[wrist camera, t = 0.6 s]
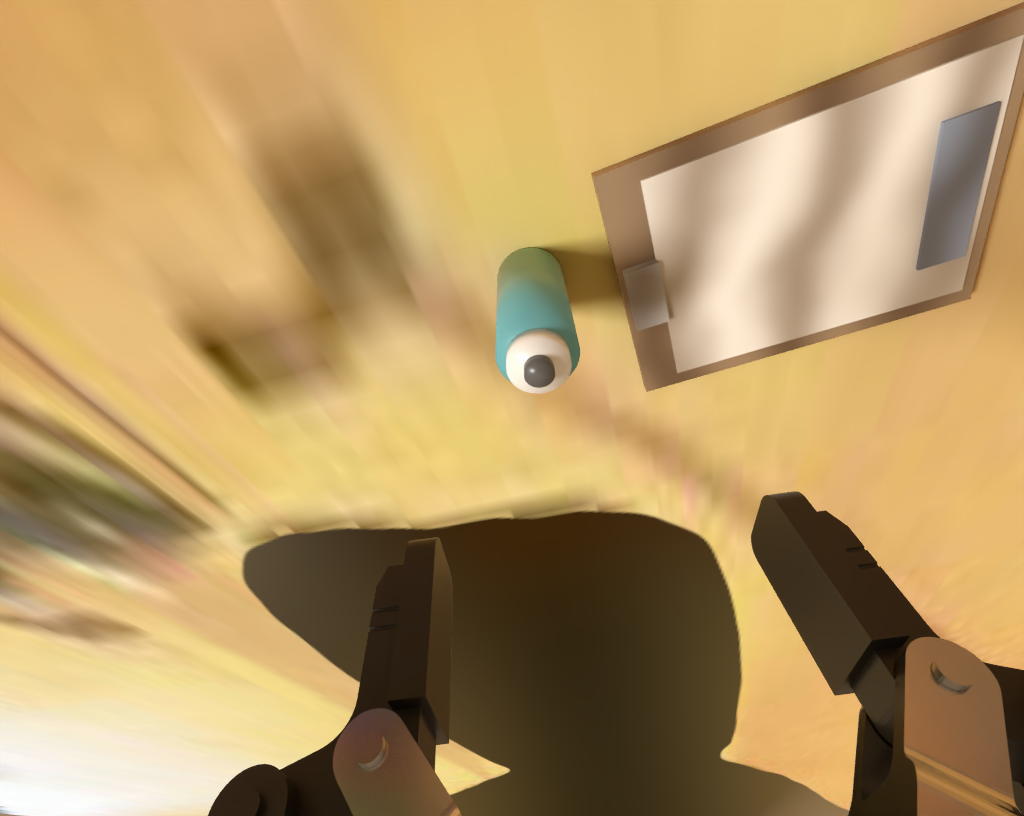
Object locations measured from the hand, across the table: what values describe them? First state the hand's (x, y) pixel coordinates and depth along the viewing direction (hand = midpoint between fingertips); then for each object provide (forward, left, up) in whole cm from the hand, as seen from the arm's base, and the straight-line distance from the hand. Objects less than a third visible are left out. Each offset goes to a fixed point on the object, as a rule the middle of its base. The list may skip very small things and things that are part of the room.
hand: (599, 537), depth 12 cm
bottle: (+2, +2, -20) cm, 20 cm away
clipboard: (-13, +5, -20) cm, 25 cm away
